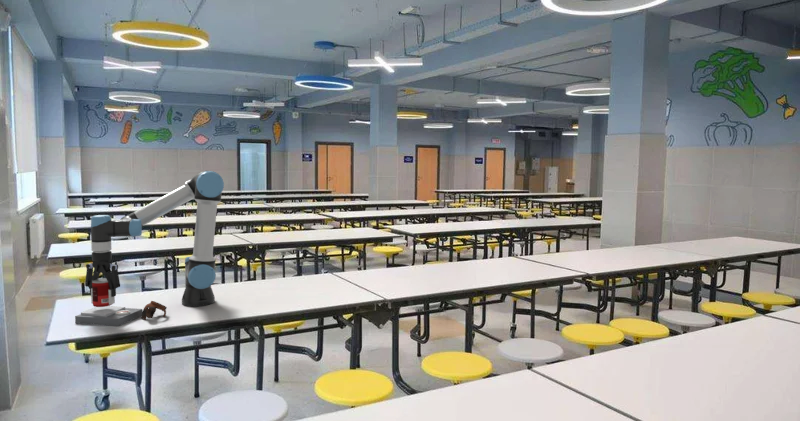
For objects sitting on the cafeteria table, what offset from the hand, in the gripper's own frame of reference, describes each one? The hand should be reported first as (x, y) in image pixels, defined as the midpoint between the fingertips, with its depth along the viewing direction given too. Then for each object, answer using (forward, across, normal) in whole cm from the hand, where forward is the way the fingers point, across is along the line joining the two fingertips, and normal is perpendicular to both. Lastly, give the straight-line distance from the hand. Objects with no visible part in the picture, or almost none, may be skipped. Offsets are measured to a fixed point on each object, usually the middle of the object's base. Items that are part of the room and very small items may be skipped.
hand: (103, 303), depth 232 cm
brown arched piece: (+7, -19, -6) cm, 22 cm away
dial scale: (+7, -3, 0) cm, 8 cm away
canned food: (+1, 0, 0) cm, 1 cm away
